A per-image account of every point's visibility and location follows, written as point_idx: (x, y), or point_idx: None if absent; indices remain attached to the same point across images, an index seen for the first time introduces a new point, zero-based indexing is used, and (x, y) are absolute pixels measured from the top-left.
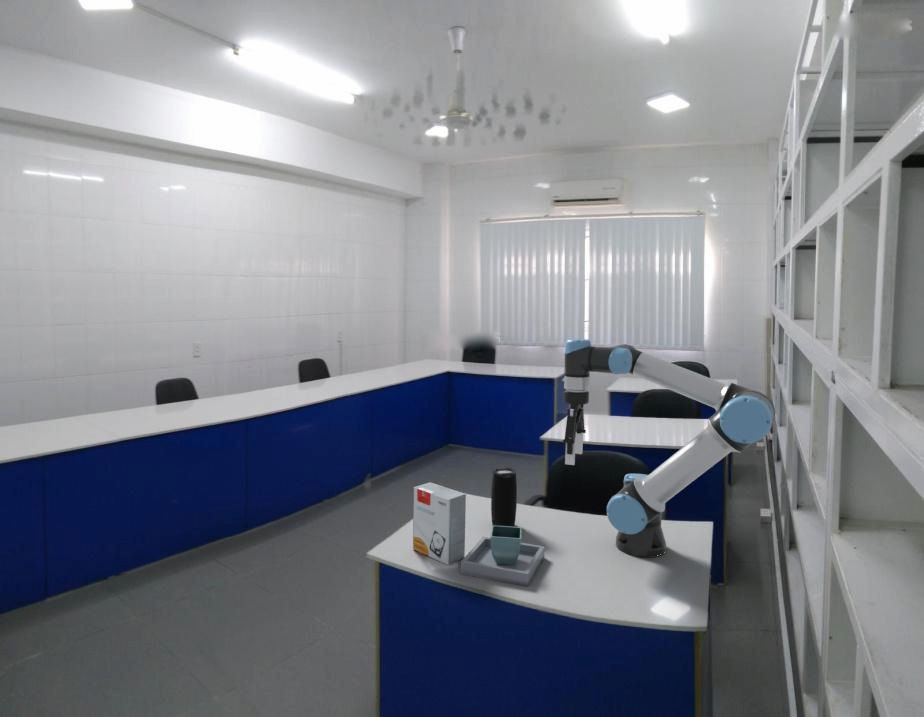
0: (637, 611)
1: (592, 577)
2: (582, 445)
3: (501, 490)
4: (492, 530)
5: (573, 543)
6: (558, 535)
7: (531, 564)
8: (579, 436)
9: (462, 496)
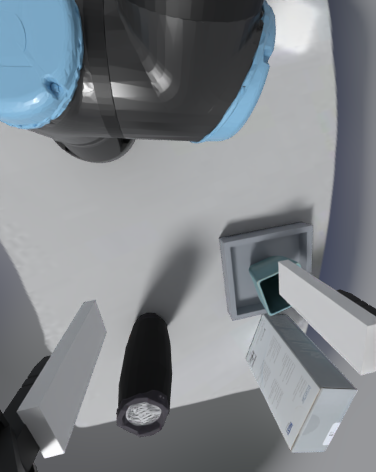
0: (313, 71)
1: (245, 158)
2: (73, 331)
3: (171, 374)
4: (287, 307)
5: (149, 222)
6: (133, 252)
7: (285, 233)
8: (59, 399)
9: (328, 386)
